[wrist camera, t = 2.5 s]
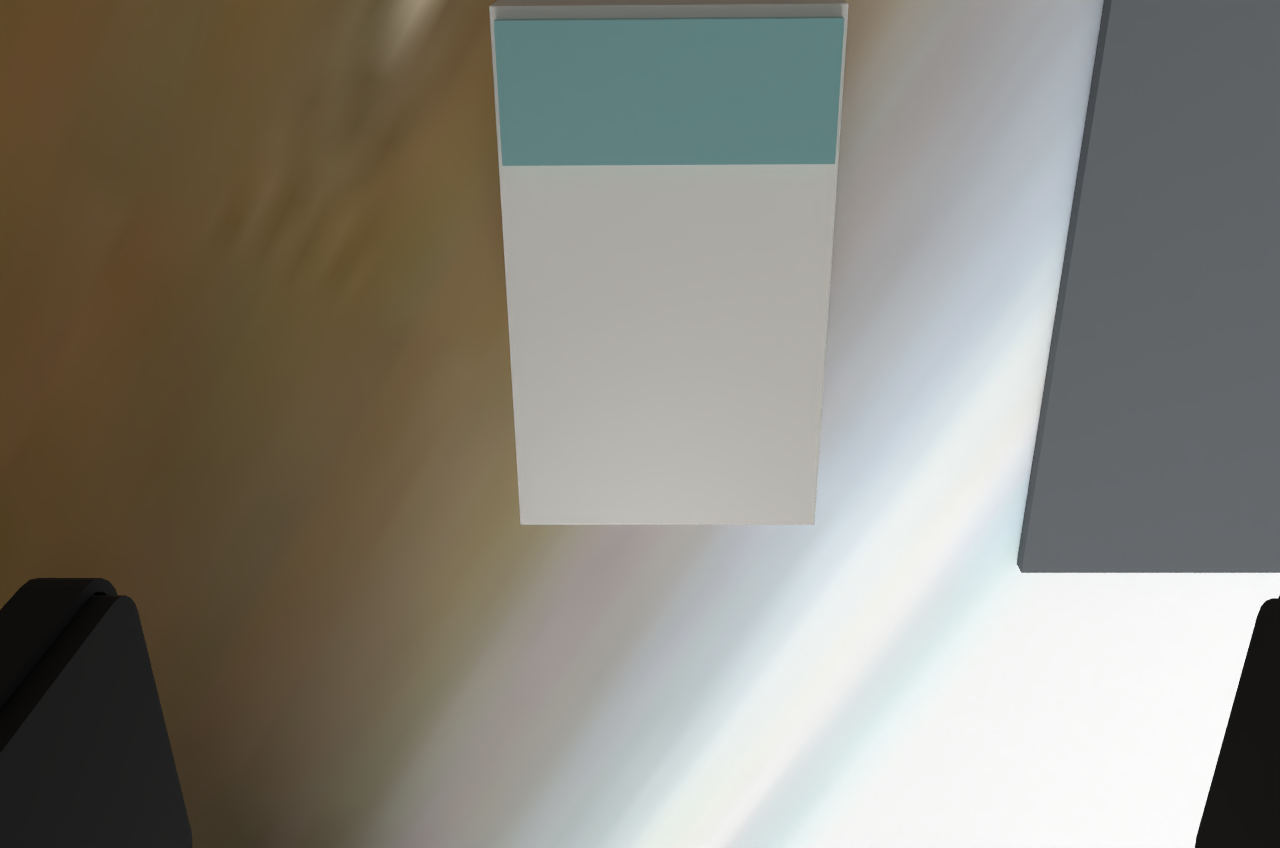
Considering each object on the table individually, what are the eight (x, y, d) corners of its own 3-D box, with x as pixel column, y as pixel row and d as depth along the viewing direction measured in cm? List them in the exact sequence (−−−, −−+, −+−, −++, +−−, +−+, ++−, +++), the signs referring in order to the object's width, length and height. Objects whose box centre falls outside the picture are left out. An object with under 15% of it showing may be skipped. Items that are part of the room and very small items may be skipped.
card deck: (788, 421, 28) (816, 532, 23) (542, 421, 28) (518, 532, 23) (811, -18, 23) (851, 5, 19) (521, -16, 24) (487, 7, 19)
